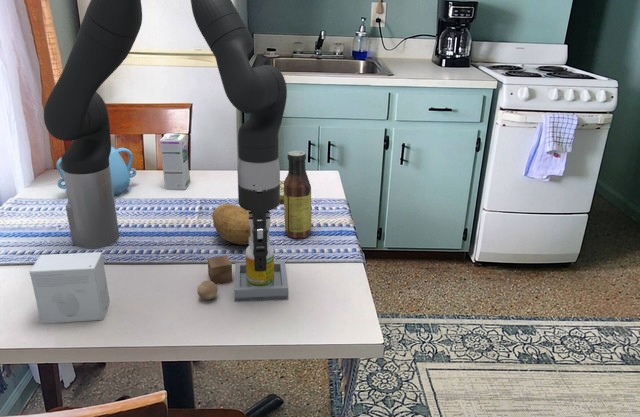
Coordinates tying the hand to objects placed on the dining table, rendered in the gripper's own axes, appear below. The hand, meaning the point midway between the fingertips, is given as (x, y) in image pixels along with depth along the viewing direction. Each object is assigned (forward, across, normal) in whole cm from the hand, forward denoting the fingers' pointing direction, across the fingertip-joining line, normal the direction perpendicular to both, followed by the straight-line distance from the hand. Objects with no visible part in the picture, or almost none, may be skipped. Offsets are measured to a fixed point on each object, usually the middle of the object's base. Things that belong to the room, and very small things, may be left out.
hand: (260, 261), depth 105 cm
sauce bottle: (+6, -22, +9) cm, 24 cm away
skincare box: (+6, +6, -33) cm, 34 cm away
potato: (+6, -19, -4) cm, 20 cm away
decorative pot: (+6, -50, -42) cm, 65 cm away
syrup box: (+6, -53, -22) cm, 58 cm away
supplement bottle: (+5, 0, 0) cm, 5 cm away
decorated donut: (+6, -44, +5) cm, 45 cm away
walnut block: (+6, -3, -8) cm, 10 cm away
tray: (+5, 0, 0) cm, 5 cm away
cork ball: (+4, +4, -10) cm, 11 cm away
